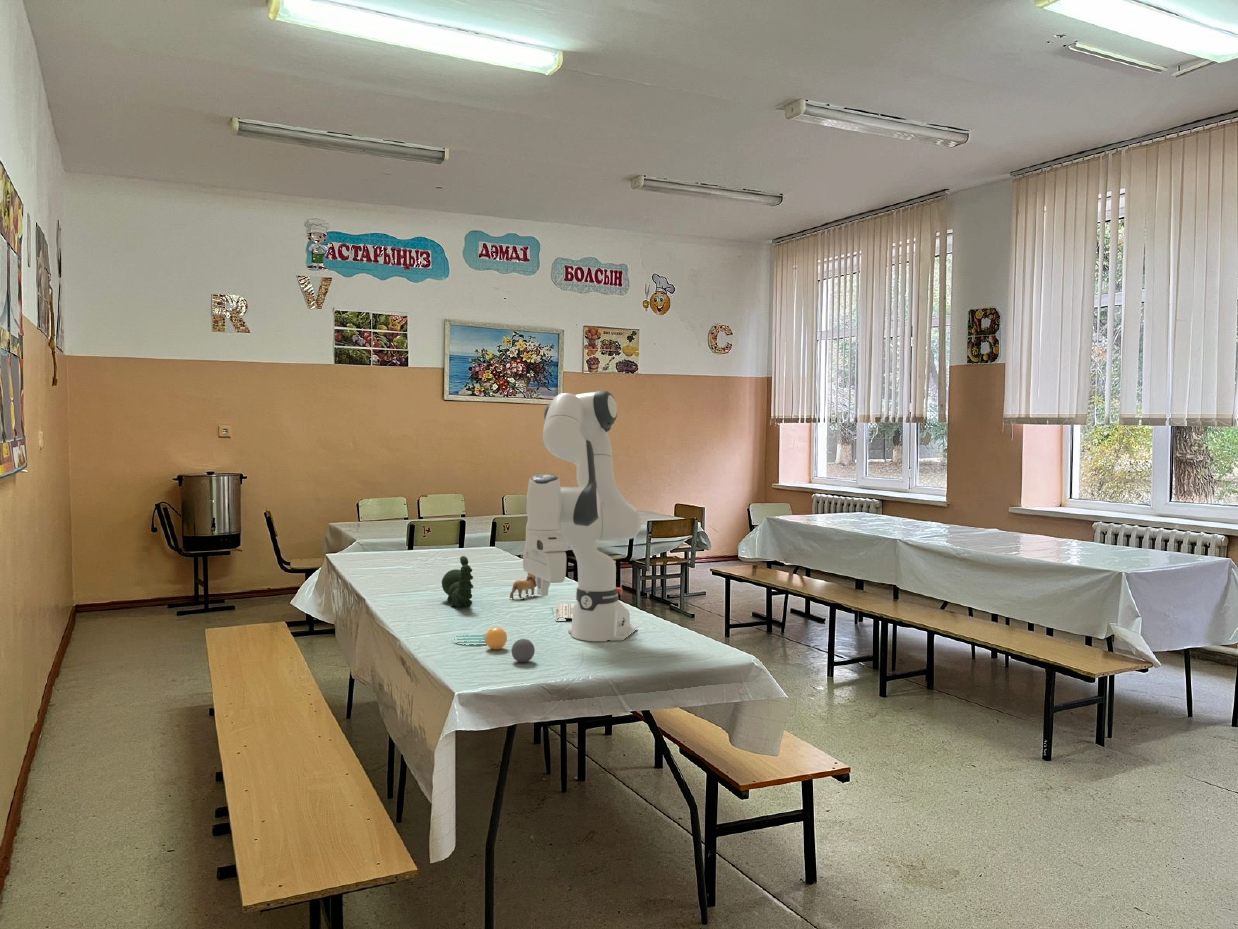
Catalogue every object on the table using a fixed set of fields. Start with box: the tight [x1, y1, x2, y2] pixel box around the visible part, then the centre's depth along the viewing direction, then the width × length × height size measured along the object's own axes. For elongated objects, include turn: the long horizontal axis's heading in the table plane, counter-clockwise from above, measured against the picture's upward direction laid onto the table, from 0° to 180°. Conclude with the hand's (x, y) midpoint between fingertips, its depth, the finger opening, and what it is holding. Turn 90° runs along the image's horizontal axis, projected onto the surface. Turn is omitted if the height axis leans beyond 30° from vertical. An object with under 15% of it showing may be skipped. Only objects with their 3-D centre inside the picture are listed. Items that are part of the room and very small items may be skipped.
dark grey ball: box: [511, 638, 536, 663], centre depth 216 cm, size 6×6×6 cm
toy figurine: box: [441, 555, 474, 607], centre depth 286 cm, size 9×19×25 cm
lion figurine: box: [509, 572, 537, 600], centre depth 298 cm, size 15×5×9 cm, turn 152°
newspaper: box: [555, 603, 574, 620], centre depth 273 cm, size 23×12×2 cm, turn 3°
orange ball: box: [485, 626, 508, 650], centre depth 229 cm, size 6×6×6 cm
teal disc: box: [454, 634, 487, 647], centre depth 238 cm, size 14×14×1 cm
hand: (542, 595), depth 208 cm, fingers closed
